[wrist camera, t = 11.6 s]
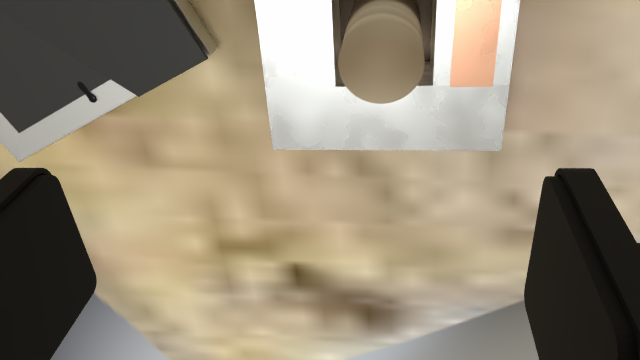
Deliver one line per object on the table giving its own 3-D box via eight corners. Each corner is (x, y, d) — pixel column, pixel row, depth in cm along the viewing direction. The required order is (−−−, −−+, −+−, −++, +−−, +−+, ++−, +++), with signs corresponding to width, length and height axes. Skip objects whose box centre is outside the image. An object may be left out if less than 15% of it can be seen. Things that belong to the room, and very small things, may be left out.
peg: (349, -17, 28) (336, 22, 22) (420, -20, 28) (426, 20, 22) (351, 51, 30) (339, 104, 24) (418, 50, 29) (423, 103, 24)
